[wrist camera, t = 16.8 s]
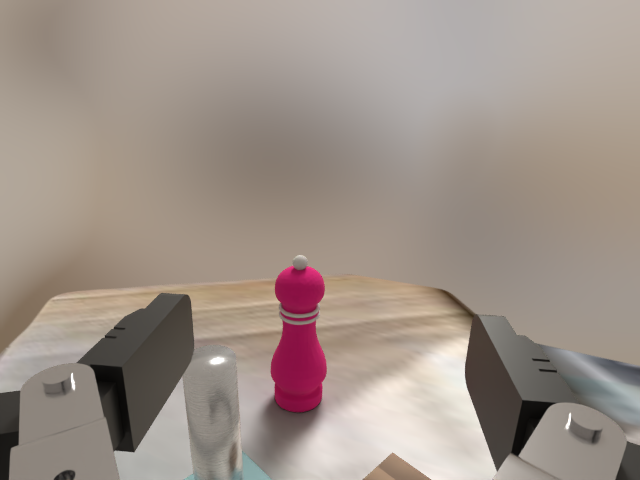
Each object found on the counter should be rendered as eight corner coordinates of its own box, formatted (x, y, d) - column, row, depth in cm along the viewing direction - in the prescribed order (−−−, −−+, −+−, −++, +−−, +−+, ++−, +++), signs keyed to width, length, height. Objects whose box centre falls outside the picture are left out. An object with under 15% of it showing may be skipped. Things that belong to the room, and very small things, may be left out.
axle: (230, 506, 41) (216, 339, 36) (256, 534, 39) (246, 359, 33) (192, 535, 39) (171, 359, 33) (217, 567, 36) (199, 383, 30)
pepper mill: (290, 373, 62) (291, 241, 56) (335, 390, 59) (341, 252, 53) (259, 402, 56) (256, 259, 50) (307, 423, 53) (311, 272, 47)
